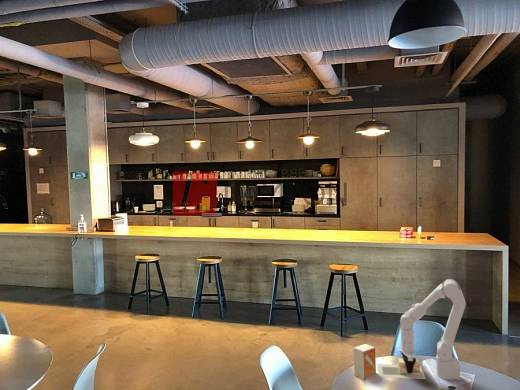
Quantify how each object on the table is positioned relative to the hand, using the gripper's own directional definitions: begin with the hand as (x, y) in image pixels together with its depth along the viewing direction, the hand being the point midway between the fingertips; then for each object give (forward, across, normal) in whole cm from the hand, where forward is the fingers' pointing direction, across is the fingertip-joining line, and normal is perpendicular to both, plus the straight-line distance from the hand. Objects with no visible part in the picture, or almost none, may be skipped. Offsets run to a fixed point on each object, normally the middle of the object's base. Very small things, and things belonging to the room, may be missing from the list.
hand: (408, 369), depth 196 cm
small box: (+2, +3, -20) cm, 20 cm away
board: (+2, 0, -4) cm, 4 cm away
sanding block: (+1, 0, 0) cm, 1 cm away
